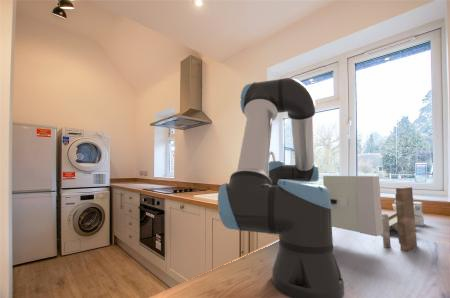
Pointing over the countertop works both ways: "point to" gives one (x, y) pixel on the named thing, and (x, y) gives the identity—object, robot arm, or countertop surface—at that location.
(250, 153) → the robot arm
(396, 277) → the countertop surface
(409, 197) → the walnut cabinet side
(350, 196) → the cream thick square slab
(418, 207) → the light bulb box
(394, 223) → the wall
